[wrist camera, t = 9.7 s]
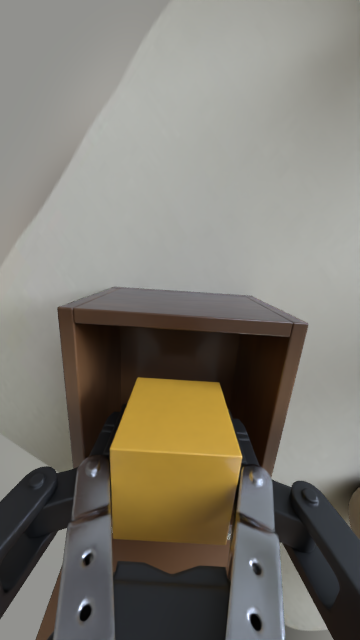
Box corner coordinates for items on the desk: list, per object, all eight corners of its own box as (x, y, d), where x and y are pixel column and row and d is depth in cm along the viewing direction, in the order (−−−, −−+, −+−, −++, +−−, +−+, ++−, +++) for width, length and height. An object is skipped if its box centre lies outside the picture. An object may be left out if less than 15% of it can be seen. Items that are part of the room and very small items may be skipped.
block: (210, 447, 14) (226, 546, 9) (136, 442, 14) (112, 539, 9) (219, 382, 12) (243, 457, 8) (137, 376, 12) (109, 449, 8)
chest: (113, 286, 19) (56, 307, 10) (251, 295, 19) (309, 323, 10) (116, 427, 23) (78, 525, 14) (229, 434, 23) (257, 535, 14)
